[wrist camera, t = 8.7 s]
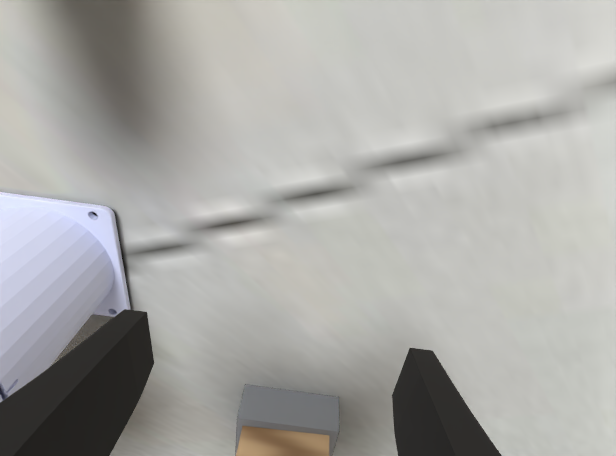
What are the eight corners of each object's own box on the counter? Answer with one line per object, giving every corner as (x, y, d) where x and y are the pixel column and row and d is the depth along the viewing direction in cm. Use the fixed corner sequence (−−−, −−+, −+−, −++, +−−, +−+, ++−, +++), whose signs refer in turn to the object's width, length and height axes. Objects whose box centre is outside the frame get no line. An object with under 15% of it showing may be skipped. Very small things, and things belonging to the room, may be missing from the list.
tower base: (242, 433, 31) (234, 471, 29) (246, 380, 28) (236, 418, 25) (324, 444, 31) (323, 483, 29) (338, 392, 28) (339, 431, 25)
